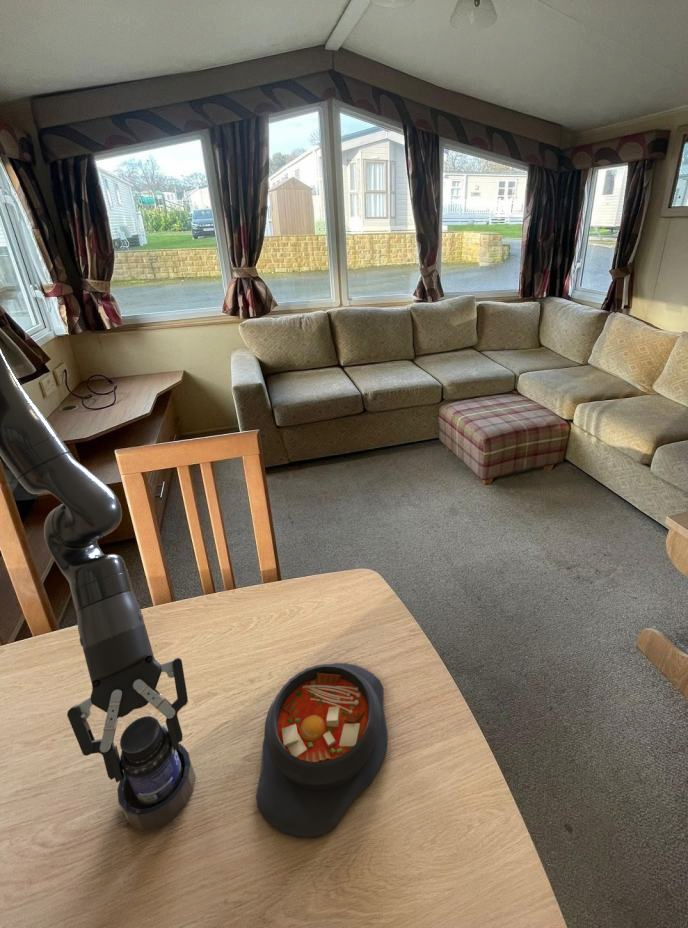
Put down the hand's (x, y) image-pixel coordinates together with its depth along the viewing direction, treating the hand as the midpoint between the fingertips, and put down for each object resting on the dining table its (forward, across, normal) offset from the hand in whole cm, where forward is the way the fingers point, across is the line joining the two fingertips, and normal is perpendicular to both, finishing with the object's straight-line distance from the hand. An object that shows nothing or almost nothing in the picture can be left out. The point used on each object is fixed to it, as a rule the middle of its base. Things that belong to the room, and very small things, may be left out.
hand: (148, 762), depth 62 cm
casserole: (+11, -22, -4) cm, 25 cm away
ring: (+6, 0, -8) cm, 10 cm away
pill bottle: (+4, 0, -6) cm, 8 cm away
